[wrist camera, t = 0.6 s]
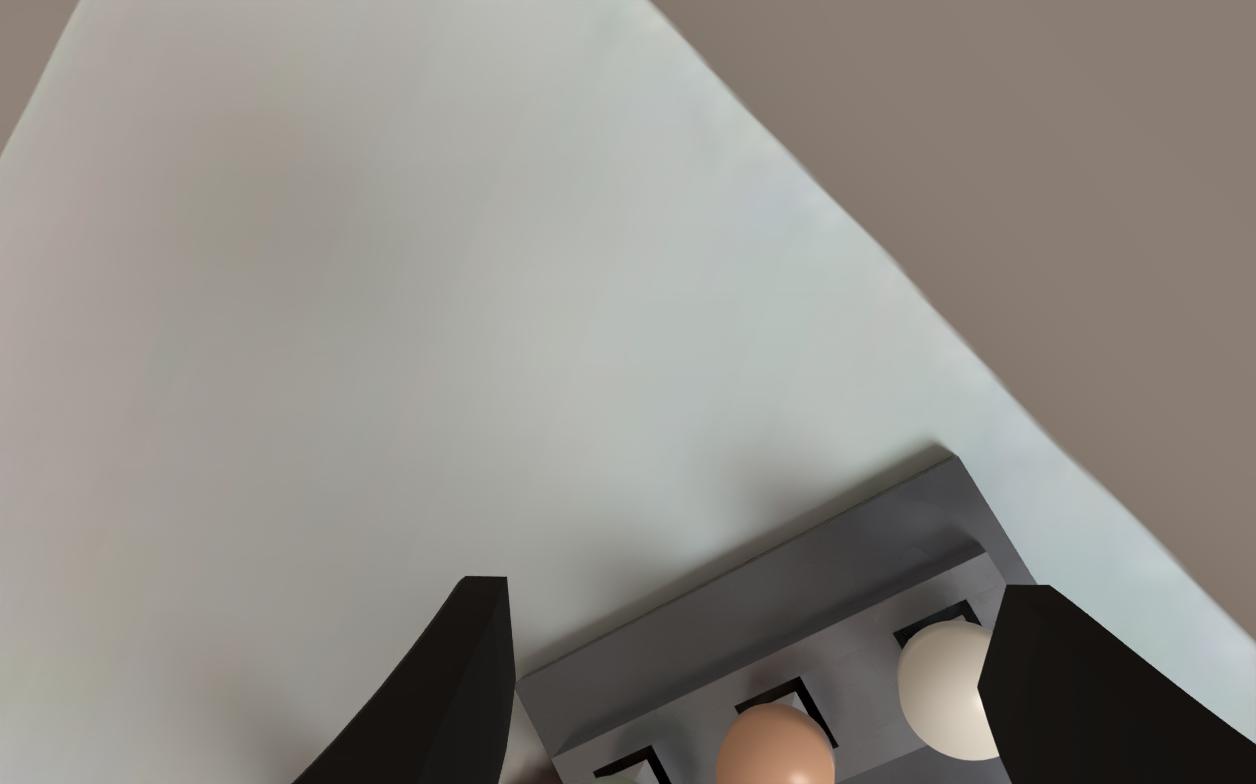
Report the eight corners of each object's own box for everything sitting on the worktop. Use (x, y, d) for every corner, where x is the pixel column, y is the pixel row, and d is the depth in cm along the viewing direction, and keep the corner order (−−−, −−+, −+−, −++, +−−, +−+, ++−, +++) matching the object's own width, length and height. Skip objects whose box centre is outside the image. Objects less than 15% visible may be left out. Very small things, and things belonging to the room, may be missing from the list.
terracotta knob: (857, 755, 30) (856, 813, 26) (766, 794, 31) (752, 855, 27) (804, 660, 30) (795, 702, 26) (716, 701, 31) (695, 747, 27)
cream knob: (1032, 681, 28) (1060, 731, 24) (929, 725, 29) (940, 779, 25) (972, 582, 29) (990, 614, 25) (873, 628, 30) (875, 666, 26)
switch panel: (1125, 729, 30) (1148, 761, 27) (644, 919, 35) (628, 960, 33) (955, 454, 31) (963, 460, 29) (522, 677, 37) (498, 698, 34)
